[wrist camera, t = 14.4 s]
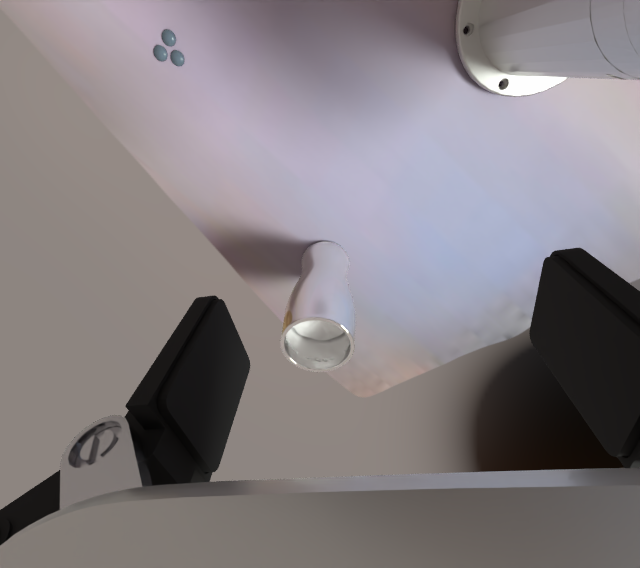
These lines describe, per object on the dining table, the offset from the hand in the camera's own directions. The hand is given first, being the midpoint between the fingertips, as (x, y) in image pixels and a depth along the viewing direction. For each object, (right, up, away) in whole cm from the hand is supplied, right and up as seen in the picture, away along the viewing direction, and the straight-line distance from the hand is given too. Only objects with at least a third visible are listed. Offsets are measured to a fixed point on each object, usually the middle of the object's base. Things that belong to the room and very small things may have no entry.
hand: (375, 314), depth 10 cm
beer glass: (-1, +4, +31) cm, 32 cm away
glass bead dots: (-16, +22, +20) cm, 34 cm away
